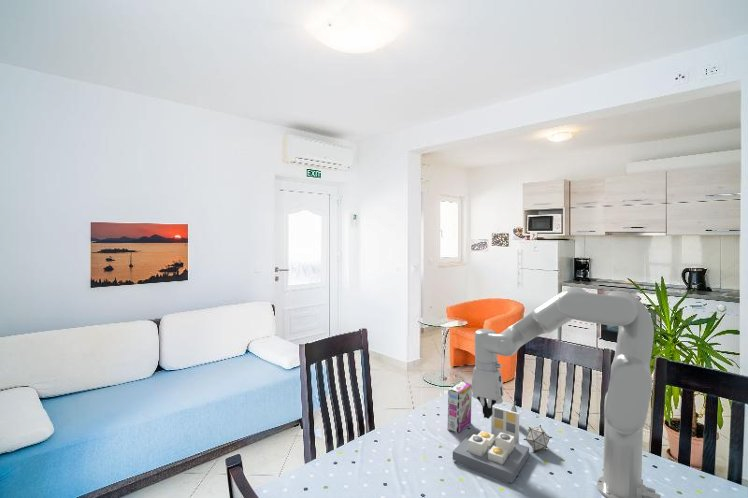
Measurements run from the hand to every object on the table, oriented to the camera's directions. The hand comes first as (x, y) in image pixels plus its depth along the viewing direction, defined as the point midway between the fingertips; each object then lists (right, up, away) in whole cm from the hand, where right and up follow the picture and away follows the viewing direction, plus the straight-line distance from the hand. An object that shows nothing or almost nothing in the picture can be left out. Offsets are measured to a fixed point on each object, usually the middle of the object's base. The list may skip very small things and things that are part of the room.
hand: (487, 416), depth 135 cm
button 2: (-1, -12, +1) cm, 12 cm away
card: (+9, -12, +7) cm, 17 cm away
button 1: (-5, -11, -5) cm, 13 cm away
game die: (+19, -13, +2) cm, 23 cm away
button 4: (+1, -12, -9) cm, 15 cm away
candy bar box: (-6, -12, +18) cm, 23 cm away
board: (0, -13, -4) cm, 13 cm away
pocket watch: (+14, -12, +19) cm, 27 cm away
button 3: (+5, -11, -3) cm, 12 cm away
